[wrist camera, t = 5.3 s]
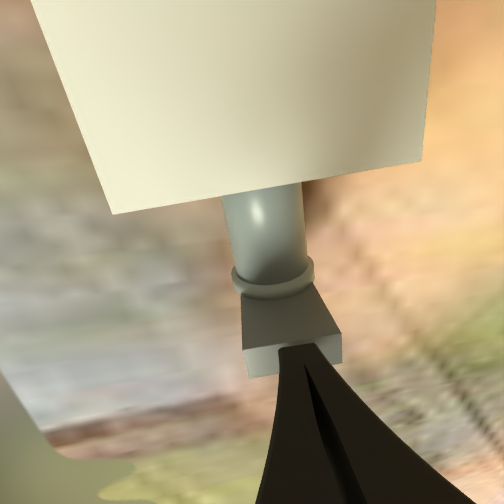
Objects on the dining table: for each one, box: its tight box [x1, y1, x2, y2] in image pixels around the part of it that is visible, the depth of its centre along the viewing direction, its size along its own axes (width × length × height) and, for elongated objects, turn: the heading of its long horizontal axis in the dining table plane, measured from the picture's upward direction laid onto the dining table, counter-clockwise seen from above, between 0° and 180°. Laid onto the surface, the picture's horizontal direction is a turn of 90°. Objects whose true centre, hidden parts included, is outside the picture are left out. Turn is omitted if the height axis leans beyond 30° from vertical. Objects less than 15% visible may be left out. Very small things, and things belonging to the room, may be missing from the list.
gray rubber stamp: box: [221, 182, 342, 379], centre depth 12 cm, size 5×12×8 cm, turn 9°
